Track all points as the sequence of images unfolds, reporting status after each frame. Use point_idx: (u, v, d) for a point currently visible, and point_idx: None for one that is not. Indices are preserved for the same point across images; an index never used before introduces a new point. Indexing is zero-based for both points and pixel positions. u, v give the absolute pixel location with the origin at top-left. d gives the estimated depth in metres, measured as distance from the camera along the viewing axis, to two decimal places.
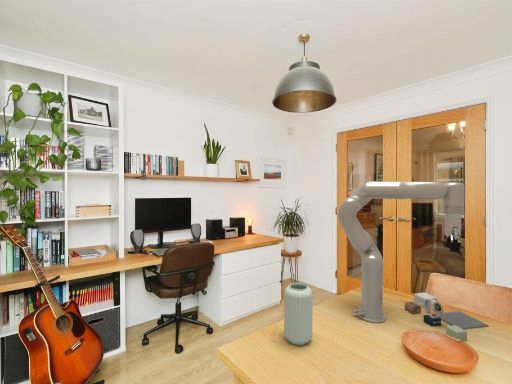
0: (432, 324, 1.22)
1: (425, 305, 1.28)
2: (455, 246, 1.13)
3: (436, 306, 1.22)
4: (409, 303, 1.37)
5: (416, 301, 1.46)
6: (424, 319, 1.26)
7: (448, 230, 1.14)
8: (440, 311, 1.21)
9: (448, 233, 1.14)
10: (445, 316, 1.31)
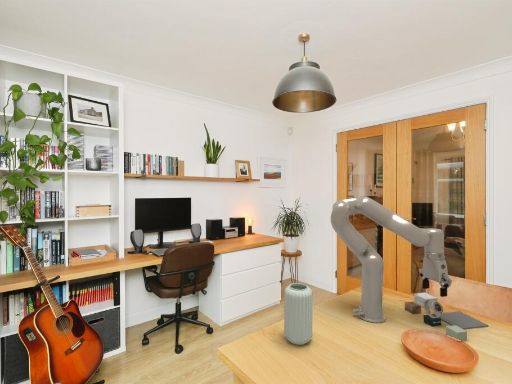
0: (432, 324, 1.22)
1: (425, 305, 1.28)
2: None
3: (436, 306, 1.22)
4: (409, 303, 1.38)
5: (416, 301, 1.46)
6: (424, 319, 1.26)
7: None
8: (440, 311, 1.21)
9: None
10: (445, 316, 1.31)
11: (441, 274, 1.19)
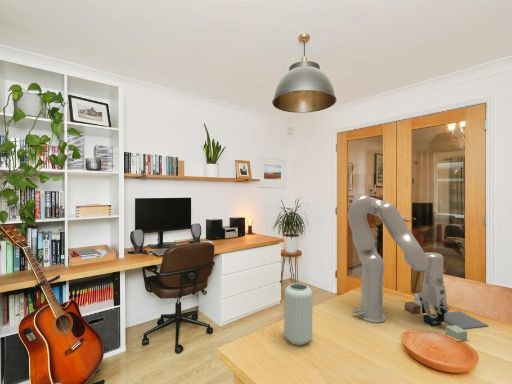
0: (432, 324, 1.22)
1: (425, 305, 1.28)
2: None
3: None
4: (409, 303, 1.38)
5: (417, 301, 1.46)
6: (424, 319, 1.26)
7: None
8: None
9: None
10: (445, 316, 1.31)
11: (440, 299, 1.20)
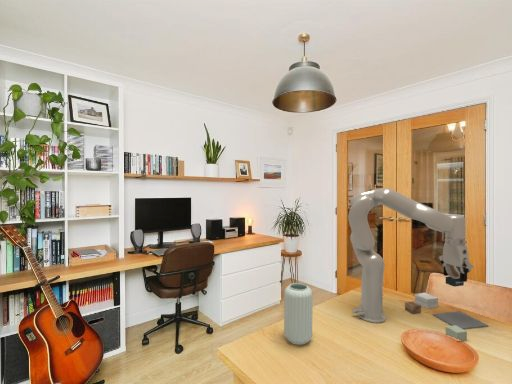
0: (455, 284, 1.24)
1: (447, 267, 1.30)
2: None
3: None
4: (409, 303, 1.38)
5: (417, 302, 1.45)
6: (446, 280, 1.28)
7: None
8: None
9: None
10: (445, 316, 1.31)
11: (462, 259, 1.21)
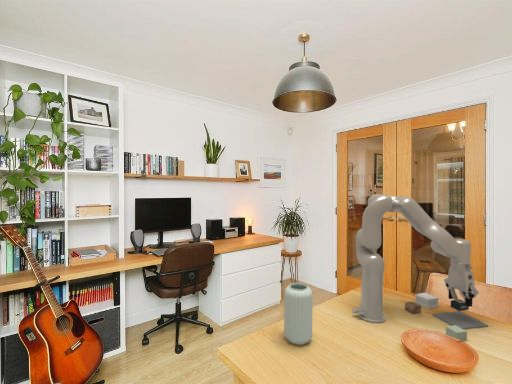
0: (460, 309, 1.25)
1: (452, 291, 1.31)
2: None
3: None
4: (409, 303, 1.38)
5: (417, 302, 1.45)
6: (451, 304, 1.29)
7: None
8: None
9: None
10: (445, 316, 1.31)
11: (468, 284, 1.22)
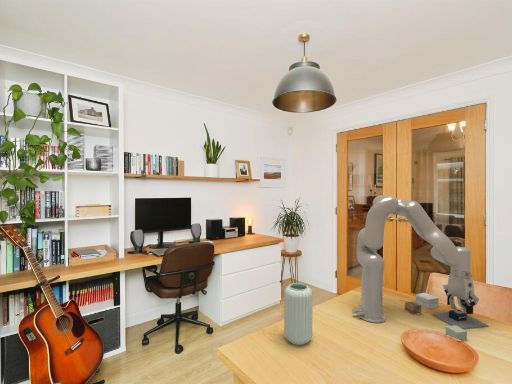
0: (458, 319, 1.26)
1: (450, 301, 1.31)
2: None
3: (462, 301, 1.25)
4: (409, 303, 1.38)
5: (418, 302, 1.45)
6: (450, 314, 1.29)
7: None
8: None
9: None
10: (445, 316, 1.31)
11: (468, 292, 1.22)
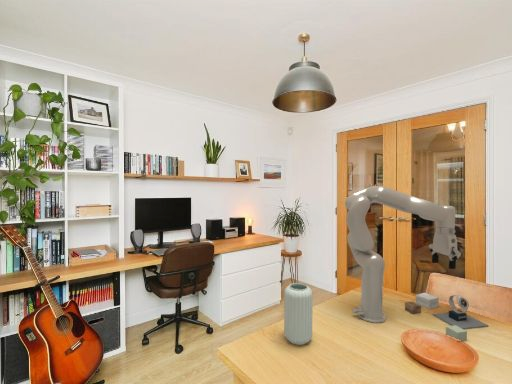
0: (458, 319, 1.26)
1: (450, 301, 1.31)
2: None
3: (462, 301, 1.26)
4: (409, 303, 1.38)
5: (418, 302, 1.45)
6: (449, 314, 1.29)
7: None
8: (466, 306, 1.25)
9: None
10: (445, 316, 1.31)
11: (451, 247, 1.26)
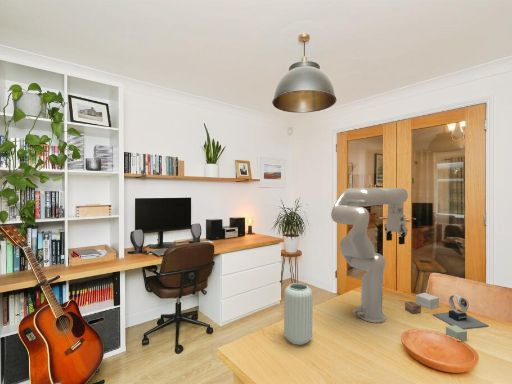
0: (458, 319, 1.26)
1: (450, 301, 1.31)
2: None
3: (462, 301, 1.26)
4: (409, 303, 1.38)
5: (419, 302, 1.44)
6: (449, 314, 1.29)
7: None
8: (466, 306, 1.25)
9: None
10: (445, 316, 1.31)
11: (400, 225, 1.41)
